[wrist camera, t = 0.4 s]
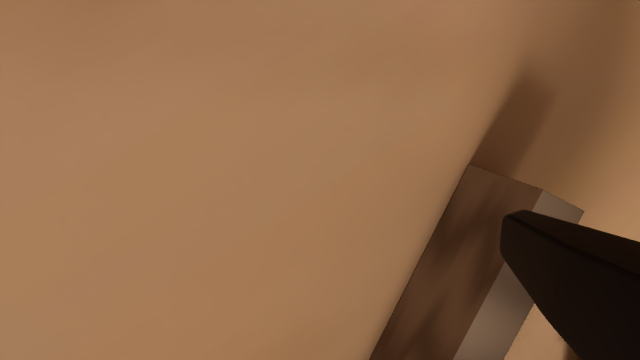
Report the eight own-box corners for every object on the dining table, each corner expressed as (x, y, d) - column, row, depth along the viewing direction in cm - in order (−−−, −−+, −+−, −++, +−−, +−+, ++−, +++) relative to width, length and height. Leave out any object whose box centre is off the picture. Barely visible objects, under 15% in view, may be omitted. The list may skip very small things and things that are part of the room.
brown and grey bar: (354, 470, 30) (391, 564, 24) (316, 464, 28) (345, 560, 23) (504, 181, 27) (584, 211, 21) (468, 163, 26) (543, 189, 20)
